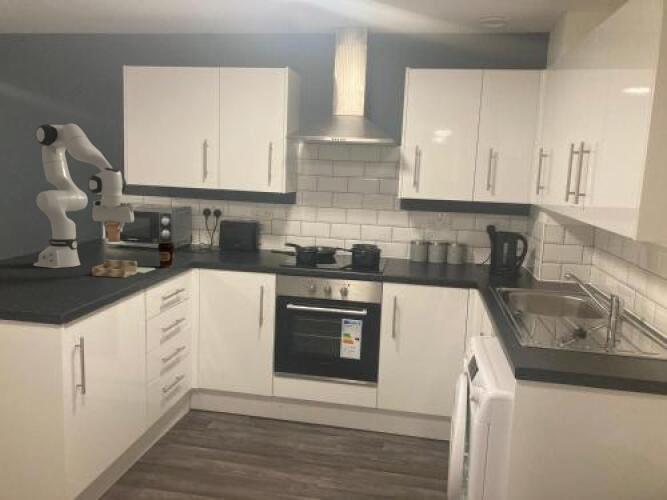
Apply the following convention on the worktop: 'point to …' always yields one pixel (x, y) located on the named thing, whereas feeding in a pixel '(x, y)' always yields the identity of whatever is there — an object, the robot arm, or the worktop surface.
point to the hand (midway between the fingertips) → (113, 231)
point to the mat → (143, 269)
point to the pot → (113, 231)
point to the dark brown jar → (166, 254)
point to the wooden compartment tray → (115, 268)
